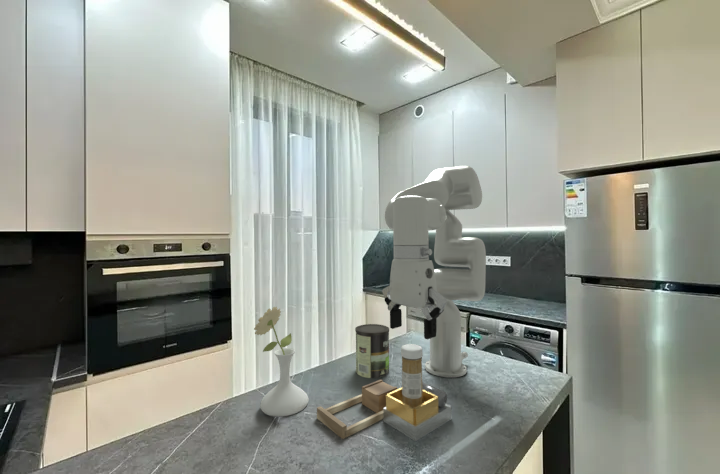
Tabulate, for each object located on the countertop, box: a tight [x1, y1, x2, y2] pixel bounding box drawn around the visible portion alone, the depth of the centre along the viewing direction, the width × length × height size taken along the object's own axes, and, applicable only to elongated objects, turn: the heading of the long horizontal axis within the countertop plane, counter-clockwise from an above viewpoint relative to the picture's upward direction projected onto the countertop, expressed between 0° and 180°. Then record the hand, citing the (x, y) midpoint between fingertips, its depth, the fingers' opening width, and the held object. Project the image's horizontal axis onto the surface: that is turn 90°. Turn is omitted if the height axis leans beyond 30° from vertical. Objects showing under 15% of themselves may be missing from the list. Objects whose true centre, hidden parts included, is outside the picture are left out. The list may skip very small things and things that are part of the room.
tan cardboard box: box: [361, 378, 398, 414], centre depth 75 cm, size 6×6×4 cm
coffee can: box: [354, 323, 390, 379], centre depth 95 cm, size 10×10×14 cm
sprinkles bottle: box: [400, 343, 424, 408], centre depth 68 cm, size 5×5×14 cm
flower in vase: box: [253, 306, 310, 418], centre depth 75 cm, size 13×11×25 cm
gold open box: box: [383, 381, 452, 442], centre depth 69 cm, size 12×9×7 cm
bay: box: [316, 393, 384, 440], centre depth 72 cm, size 18×10×4 cm, turn 130°
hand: (412, 332), depth 68 cm, fingers open, 9 cm apart
